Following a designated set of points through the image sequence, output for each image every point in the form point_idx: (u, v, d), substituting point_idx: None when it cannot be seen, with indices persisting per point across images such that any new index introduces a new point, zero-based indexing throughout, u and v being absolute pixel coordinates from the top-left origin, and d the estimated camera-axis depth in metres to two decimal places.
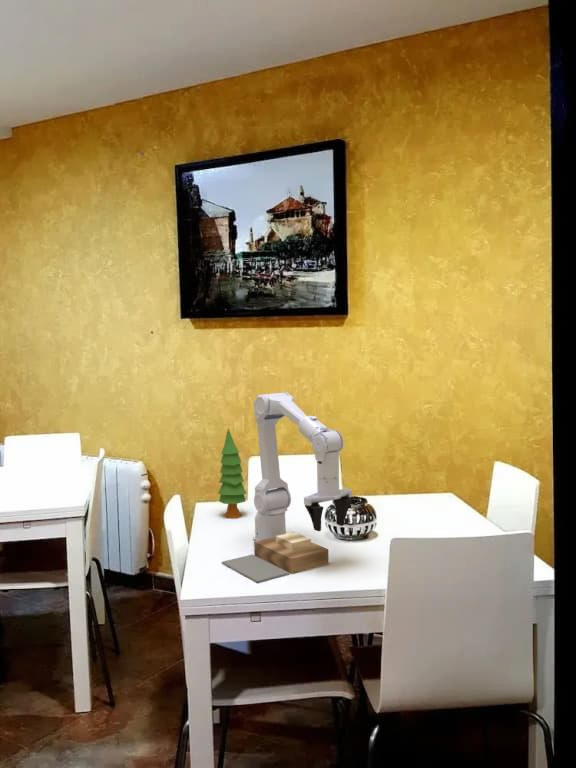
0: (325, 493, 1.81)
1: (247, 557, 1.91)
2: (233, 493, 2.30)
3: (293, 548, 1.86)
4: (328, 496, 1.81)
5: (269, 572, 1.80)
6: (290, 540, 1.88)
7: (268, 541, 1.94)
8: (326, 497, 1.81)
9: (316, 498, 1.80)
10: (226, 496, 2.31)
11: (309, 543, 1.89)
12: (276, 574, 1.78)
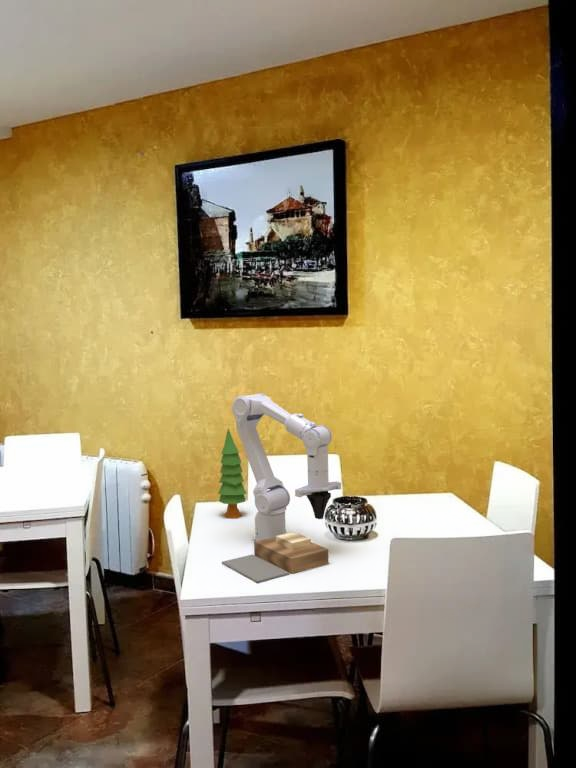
0: (315, 485, 1.91)
1: (247, 557, 1.91)
2: (233, 493, 2.30)
3: (293, 548, 1.86)
4: (318, 488, 1.91)
5: (269, 572, 1.80)
6: (290, 540, 1.88)
7: (268, 541, 1.94)
8: (316, 489, 1.91)
9: (306, 490, 1.90)
10: (226, 496, 2.31)
11: (309, 543, 1.89)
12: (276, 574, 1.78)
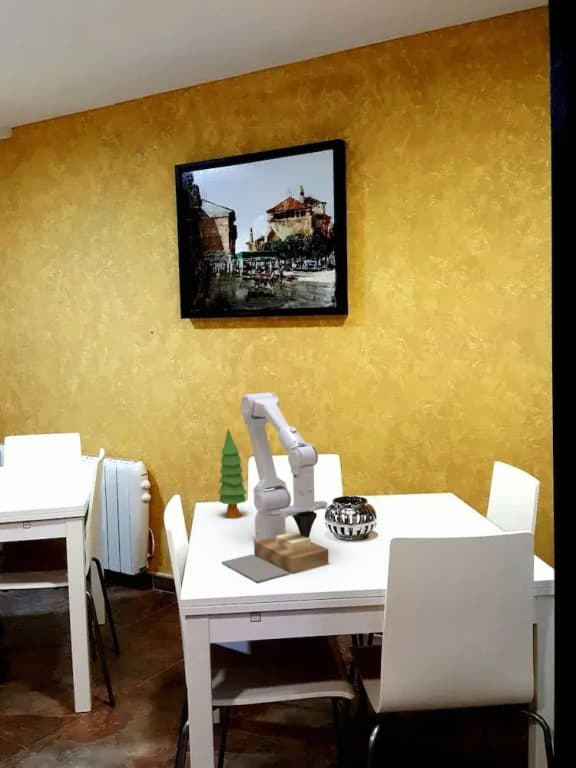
0: (301, 505, 1.89)
1: (247, 557, 1.91)
2: (233, 493, 2.30)
3: (293, 548, 1.86)
4: (303, 508, 1.89)
5: (269, 572, 1.80)
6: (290, 540, 1.88)
7: (268, 541, 1.94)
8: (302, 509, 1.89)
9: (292, 510, 1.88)
10: (226, 496, 2.31)
11: (309, 543, 1.89)
12: (276, 574, 1.78)
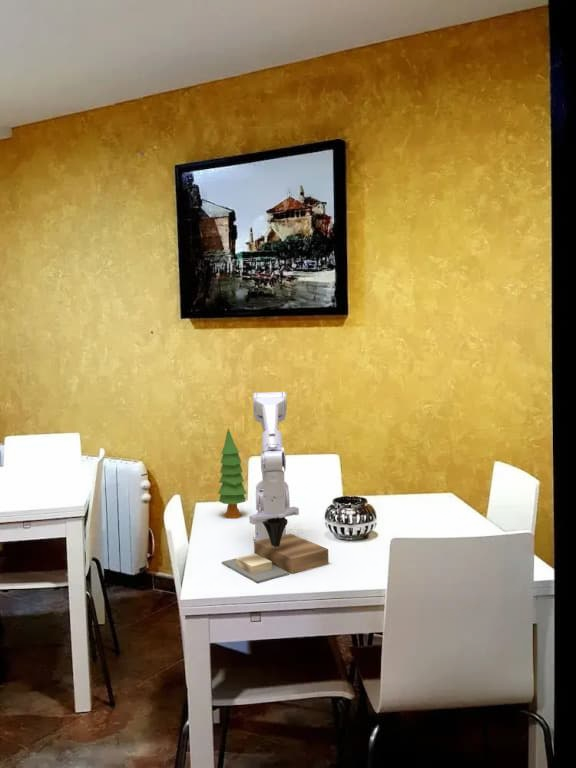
0: (271, 511, 1.84)
1: None
2: (233, 493, 2.30)
3: (270, 563, 1.82)
4: (273, 515, 1.83)
5: (269, 572, 1.80)
6: None
7: (268, 541, 1.94)
8: (271, 516, 1.83)
9: (261, 517, 1.82)
10: (226, 496, 2.31)
11: (253, 569, 1.79)
12: (276, 574, 1.78)
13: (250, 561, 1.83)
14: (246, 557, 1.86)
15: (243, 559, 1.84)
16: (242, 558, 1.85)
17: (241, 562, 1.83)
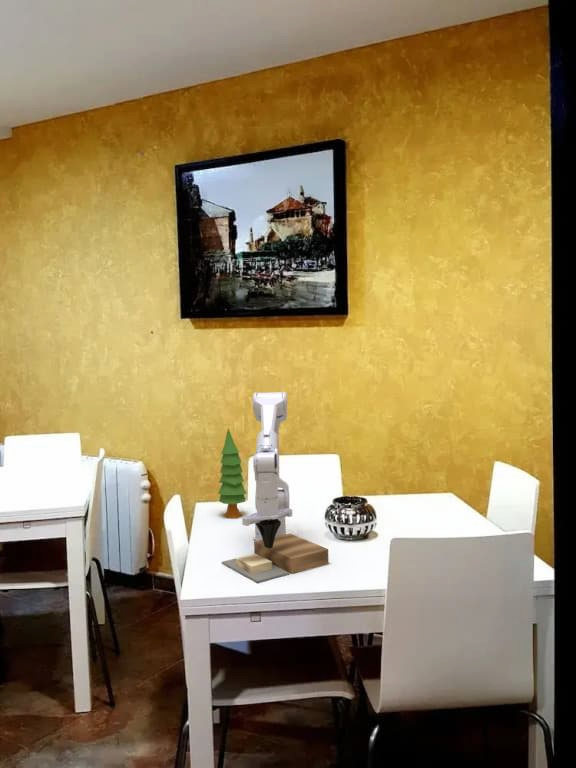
0: (264, 513, 1.82)
1: None
2: (233, 493, 2.30)
3: (270, 563, 1.82)
4: (266, 516, 1.82)
5: (269, 572, 1.80)
6: None
7: None
8: (264, 517, 1.82)
9: (254, 518, 1.81)
10: (226, 496, 2.31)
11: (253, 569, 1.79)
12: (276, 574, 1.78)
13: (250, 561, 1.83)
14: (246, 557, 1.86)
15: (243, 559, 1.84)
16: (242, 558, 1.85)
17: (241, 562, 1.83)
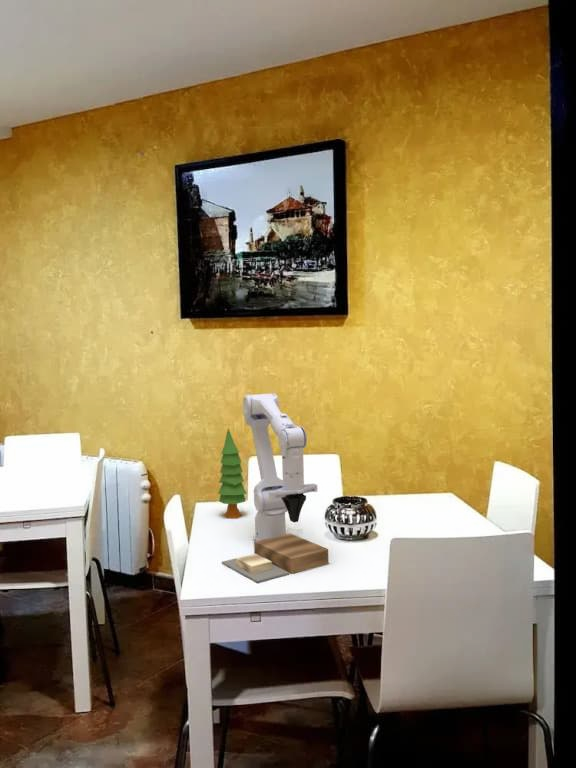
0: (290, 487, 1.87)
1: None
2: (233, 493, 2.30)
3: (270, 563, 1.82)
4: (292, 490, 1.86)
5: (269, 572, 1.80)
6: None
7: (268, 541, 1.94)
8: (290, 491, 1.86)
9: (280, 492, 1.86)
10: (226, 496, 2.31)
11: (253, 569, 1.79)
12: (276, 574, 1.78)
13: (250, 561, 1.83)
14: (246, 557, 1.86)
15: (243, 559, 1.84)
16: (242, 558, 1.85)
17: (241, 562, 1.83)
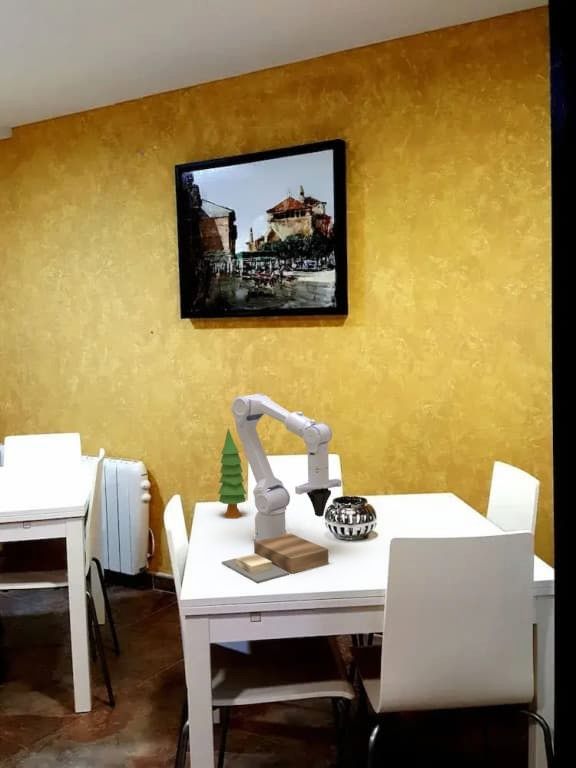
0: (316, 482, 1.91)
1: None
2: (233, 493, 2.30)
3: (270, 563, 1.82)
4: (318, 485, 1.91)
5: (269, 572, 1.80)
6: None
7: (268, 541, 1.94)
8: (316, 486, 1.91)
9: (307, 487, 1.90)
10: (226, 496, 2.31)
11: (253, 569, 1.79)
12: (276, 574, 1.78)
13: (250, 561, 1.83)
14: (246, 557, 1.86)
15: (243, 559, 1.84)
16: (242, 558, 1.85)
17: (241, 562, 1.83)
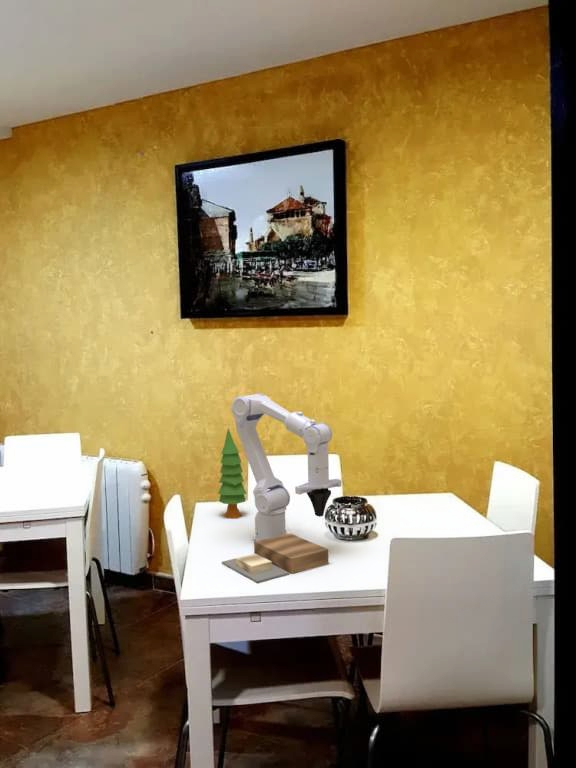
0: (316, 482, 1.91)
1: None
2: (233, 493, 2.30)
3: (270, 563, 1.82)
4: (318, 485, 1.91)
5: (269, 572, 1.80)
6: None
7: (268, 541, 1.94)
8: (316, 486, 1.91)
9: (307, 487, 1.90)
10: (226, 496, 2.31)
11: (253, 569, 1.79)
12: (276, 574, 1.78)
13: (250, 561, 1.83)
14: (246, 557, 1.86)
15: (243, 559, 1.84)
16: (242, 558, 1.85)
17: (241, 562, 1.83)
